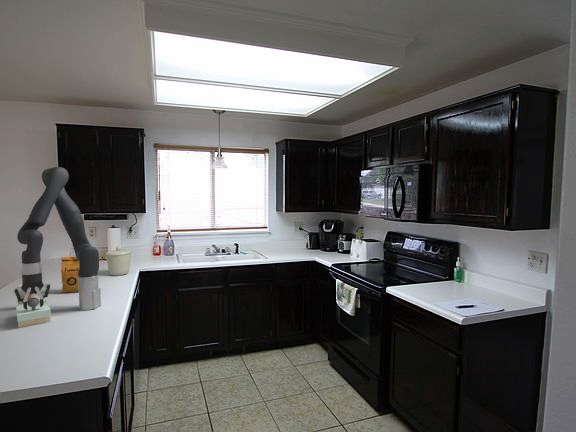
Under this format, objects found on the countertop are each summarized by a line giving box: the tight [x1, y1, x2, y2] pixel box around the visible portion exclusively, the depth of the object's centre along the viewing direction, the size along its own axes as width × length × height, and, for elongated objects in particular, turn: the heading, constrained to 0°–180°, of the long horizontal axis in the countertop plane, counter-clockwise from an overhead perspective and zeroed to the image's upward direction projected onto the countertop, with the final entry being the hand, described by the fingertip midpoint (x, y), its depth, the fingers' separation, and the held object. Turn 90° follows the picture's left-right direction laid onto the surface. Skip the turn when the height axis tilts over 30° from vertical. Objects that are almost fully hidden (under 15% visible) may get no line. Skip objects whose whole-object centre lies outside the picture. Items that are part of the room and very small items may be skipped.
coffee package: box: [60, 256, 79, 294], centre depth 215 cm, size 10×12×22 cm
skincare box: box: [16, 284, 35, 305], centre depth 184 cm, size 6×4×12 cm
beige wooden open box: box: [17, 316, 51, 328], centre depth 167 cm, size 18×12×5 cm, turn 39°
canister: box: [105, 246, 133, 277], centre depth 261 cm, size 18×18×21 cm
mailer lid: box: [15, 297, 52, 323], centre depth 166 cm, size 19×12×9 cm, turn 39°
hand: (33, 307), depth 162 cm, fingers open, 5 cm apart
